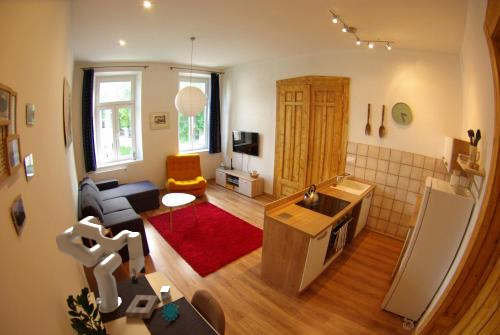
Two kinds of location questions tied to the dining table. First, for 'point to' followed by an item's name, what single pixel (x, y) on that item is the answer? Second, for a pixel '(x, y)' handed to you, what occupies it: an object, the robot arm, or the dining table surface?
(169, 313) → the gear
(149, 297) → the bore block
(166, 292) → the peg
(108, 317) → the dining table surface
